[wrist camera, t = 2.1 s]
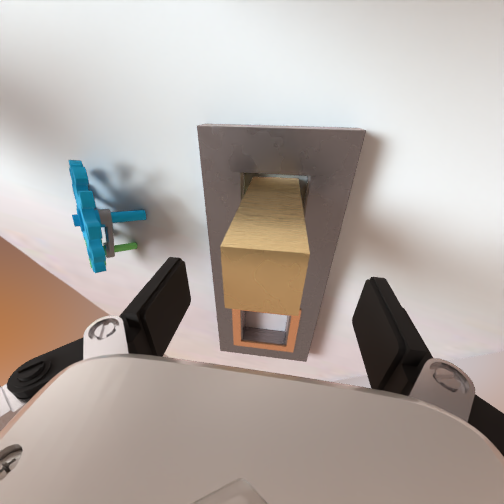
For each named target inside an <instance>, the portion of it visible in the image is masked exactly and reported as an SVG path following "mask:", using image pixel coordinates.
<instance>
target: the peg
mask: <svg viewBox="0 0 504 504" xmlns="http://www.w3.org/2000/svg"><path fill="white" fill-rule="evenodd" d="M220 249H221V263H222V276H223V290H224V303H225V308H229V309H239V310H248V311H257V312H266V313H275V314H284V315H293V316H298V315H299V310H300V304H301V299H302V294H303V288H304V283H305V278H306V272H307V267H308V262H309V256H310V251H309V244H308V238H307V231H306V225H305V218H304V212H303V205H302V199H301V192H300V186H299V179H298V178H279V177H259V176H253V178H252V180H251V182H250V184H249V186H248V188H247V190H246V193H245V195H244V197H243V199H242V201H241V203H240V205H239V207H238V210H237V212H236V214H235V216H234V218H233V220H232V222H231V225H230V227H229V229H228V231H227V233H226V235H225V237H224V240H223V242H222V244H221V246H220Z"/></svg>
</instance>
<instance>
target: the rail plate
mask: <svg viewBox="0 0 504 504" xmlns="http://www.w3.org/2000/svg"><path fill="white" fill-rule="evenodd" d="M197 130H198V140H199V149H200V159H201V168H202V178H203V187H204V197H205V207H206V216H207V226H208V235H209V245H210V254H211V264H212V273H213V283H214V292H215V302H216V312H217V321H218V331H219V340H220V350H221V351H227V352H235V353H242V354H250V355H258V356H266V357H274V358H281V359H289V360H297V361H305V362H306V361H307V357H308V353H309V349H310V345H311V342H312V338H313V334H314V330H315V326H316V322H317V318H318V314H319V311H320V307H321V303H322V299H323V295H324V291H325V287H326V283H327V279H328V276H329V272H330V268H331V264H332V260H333V256H334V252H335V248H336V245H337V241H338V237H339V233H340V229H341V225H342V221H343V217H344V214H345V210H346V206H347V202H348V198H349V194H350V190H351V186H352V183H353V179H354V175H355V171H356V167H357V163H358V159H359V155H360V152H361V148H362V144H363V140H364V136H365V132H366V130H363V129H360V128H344V127H307V126H269V125H232V124H202V125H198V126H197ZM244 173H265V174H286V175H307V176H308V180H307V187H306V194H305V201H304V207H303V212H304V218H305V225H306V231H307V238H308V244H309V251H310V256H309V262H308V267H307V272H306V278H305V283H304V288H303V294H302V299H301V304H300V310H299V315H298V316H293V315H288V316H287V322H286V329H285V332H283V331H274V330H266V329H257V328H248V327H245V311H248V310H239V309H229V308H225V303H224V290H223V276H222V263H221V249H220V246H221V244H222V242H223V240H224V237H225V235H226V233H227V231H228V229H229V227H230V225H231V222H232V220H233V218H234V216H235V214H236V212H237V210H238V207H239V205H240V203H241V201H242V199H243V197H244ZM253 312H257V311H253ZM262 313H266V312H262ZM271 314H275V313H271ZM280 315H284V314H280Z"/></svg>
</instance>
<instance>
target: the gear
mask: <svg viewBox="0 0 504 504" xmlns="http://www.w3.org/2000/svg"><path fill="white" fill-rule="evenodd" d="M69 164H70V168H69V170H70V175H71V179H72V183H73V184H72V187H73V192H74V196H75V199H76V203H77V205H76V206H77V214H78V215H72V217H73V221H74V225H75V226H80V227H81V231H82V232H83V236H84V240H85V242H86V246H87V251H88V255H89V260H90V265H91V268H93V271H94V272H95V273H98V272H103V271H106V266H105V265H106V257H107V258H109V257H114V256H115V253H114V252H119V251H125V250H131V249H137V244H136V242H135V243H128V244H121V245H115V246H114V238H113V223H117V222H127V221H138V220H146V213H145V210H135V211H121V212H110V210H109V209H101V210H94V208H96V205H95V200H94V196H93V192H92V191H89V189H88V184H89V180H88V176H87V172H86V169H85V167H83V164H82V162H81V161H78V160H69ZM101 227H105V234H106V243H103V245H104V246H102V240H101V238H102V232H101ZM105 255H106V256H105Z"/></svg>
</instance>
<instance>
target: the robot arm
mask: <svg viewBox="0 0 504 504" xmlns="http://www.w3.org/2000/svg"><path fill="white" fill-rule="evenodd" d="M190 302H191V296H190V290H189V284H188V278H187V272H186V266H185V262H184V261H182V259H181V258H174V257H169V258H168V259H167V261H166V262H165V263H164V264H163V265H162V266H161V268H160V269H159V270H158V271H157V272H156V274H155V275H154V276H153V277H152V278H151V280H150V281H149V282H148V283H147V284H146V285H145V286H144V288H143V289H142V290H141V291H140V292H139V293H138V295H137V296H136V297H135V298H134V299H133V301H132V302H131V303H130V304H129V305H128V307H127V308H126V309H125V310H124V311H123V313H122V314H121V315H120V316H106V317H102V318H100V319H98V320H96V321H95V322H93V323H92V324H91V325H90V326H88V327H87V329H86V331H85V333H84V337H83V338H81V339H79V340H76V341H74V342H71V343H69V344H67V345H64V346H62V347H60V348H57V349H55V350H53V351H50V352H48V353H46V354H43V355H40V356H38V357H36V358H33V359H32V360H29V361H28V362H26V363H24V364H23V365H21V366H20V367H19V368H18V369H17V370H16V371H14V372H13V374H12V375H11V376H10V378H9V380H8V383H7V384H5V385H4V386H2V387H1V386H0V504H504V414H503V413H502V412H500V411H499V410H497V409H496V408H495V407H493V406H492V405H490V404H489V403H487V402H486V401H484V400H483V399H481V398H480V397H478V396H477V395H475V387H474V384H473V382H472V381H471V379H470V378H469V377H468V375H467V374H466V373H464V372H463V371H462V370H461V369H460V368H458V367H457V366H455V365H454V364H452V363H450V362H448V361H446V360H442V359H438V358H433V357H432V355H431V353H430V352H429V350H428V348H427V346H426V345H425V343H424V341H423V340H422V338H421V336H420V334H419V333H418V331H417V329H416V328H415V326H414V324H413V322H412V321H411V319H410V317H409V316H408V314H407V312H406V311H405V309H404V308H402V306H401V305H400V303H399V301H398V299H397V298H396V296H395V294H394V292H393V291H392V289H391V287H390V285H389V284H388V282H387V280H386V279H385V278H378V277H371V278H370V280H366V282H365V285H364V288H363V290H362V293H361V296H360V299H359V301H358V304H357V307H356V310H355V312H354V315H353V319H352V324H353V327H354V331H355V334H356V338H357V341H358V344H359V348H360V351H361V355H362V358H363V361H364V365H365V368H366V372H367V375H368V378H369V382H370V385H371V388H372V389H371V388H366V387H360V386H354V385H348V384H342V383H336V382H329V381H323V380H316V379H310V378H304V377H297V376H291V375H284V374H278V373H271V372H264V371H258V370H251V369H244V368H238V367H231V366H224V365H217V364H211V363H204V362H197V361H190V360H183V359H176V358H168V357H162V356H163V355H164V353H165V351H166V349H167V347H168V345H169V343H170V341H171V339H172V337H173V336H174V334H175V332H176V330H177V328H178V326H179V324H180V322H181V320H182V318H183V316H184V315H185V313H186V311H187V309H188V307H189V305H190Z"/></svg>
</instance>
